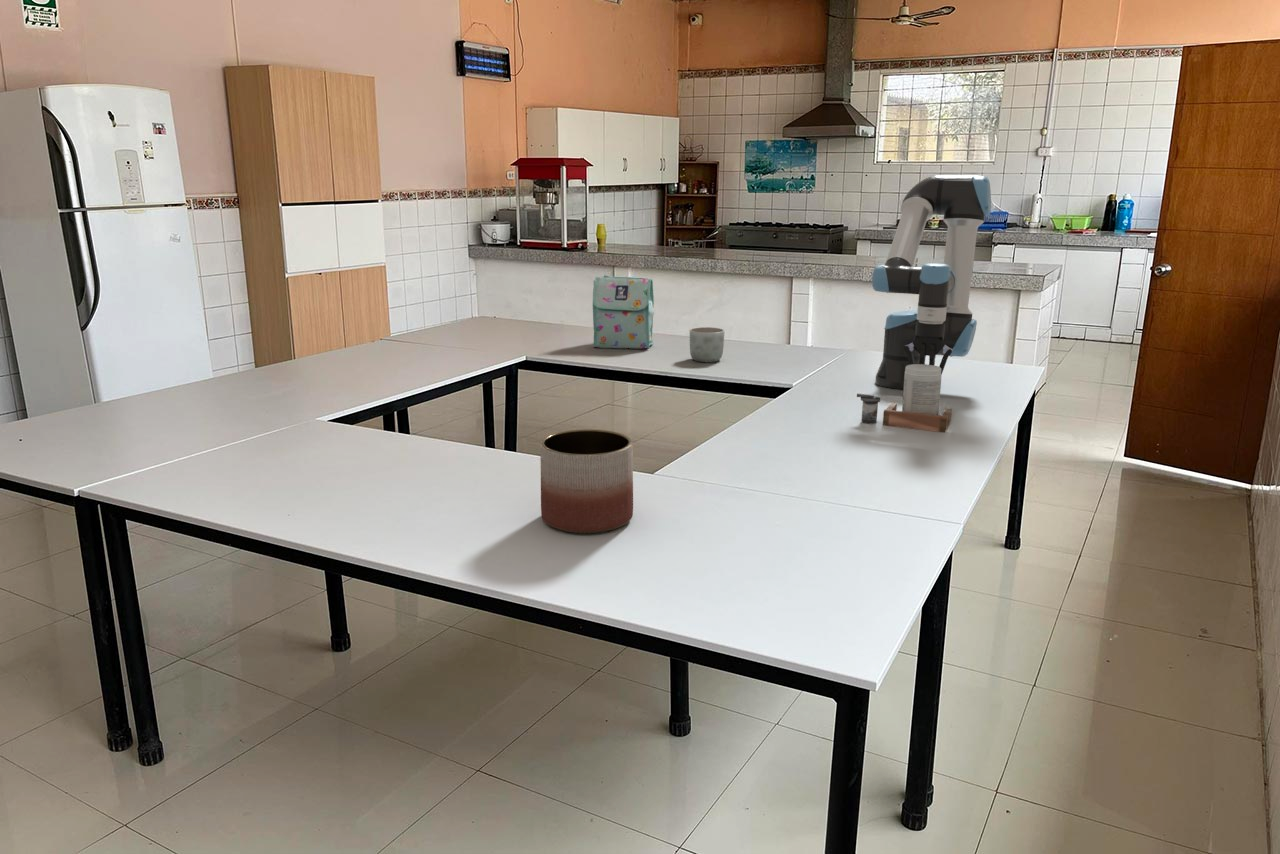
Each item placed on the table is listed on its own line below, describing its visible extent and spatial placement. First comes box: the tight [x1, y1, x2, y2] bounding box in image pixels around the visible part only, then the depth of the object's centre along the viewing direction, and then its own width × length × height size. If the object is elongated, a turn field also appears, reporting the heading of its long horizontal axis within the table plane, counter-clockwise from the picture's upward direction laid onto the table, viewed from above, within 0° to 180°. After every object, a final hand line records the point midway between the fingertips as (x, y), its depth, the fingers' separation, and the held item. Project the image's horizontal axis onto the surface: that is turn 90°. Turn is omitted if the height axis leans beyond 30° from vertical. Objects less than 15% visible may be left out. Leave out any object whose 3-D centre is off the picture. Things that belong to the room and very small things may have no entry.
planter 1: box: [539, 428, 634, 535], centre depth 175 cm, size 18×18×16 cm
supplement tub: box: [901, 363, 942, 415], centre depth 248 cm, size 10×10×15 cm
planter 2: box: [689, 326, 725, 363], centre depth 325 cm, size 12×12×11 cm
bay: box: [882, 402, 952, 433], centre depth 246 cm, size 12×16×4 cm
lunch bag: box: [592, 274, 655, 350], centre depth 348 cm, size 23×16×27 cm
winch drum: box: [856, 393, 882, 425], centre depth 247 cm, size 5×6×7 cm
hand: (923, 405), depth 254 cm, fingers closed
